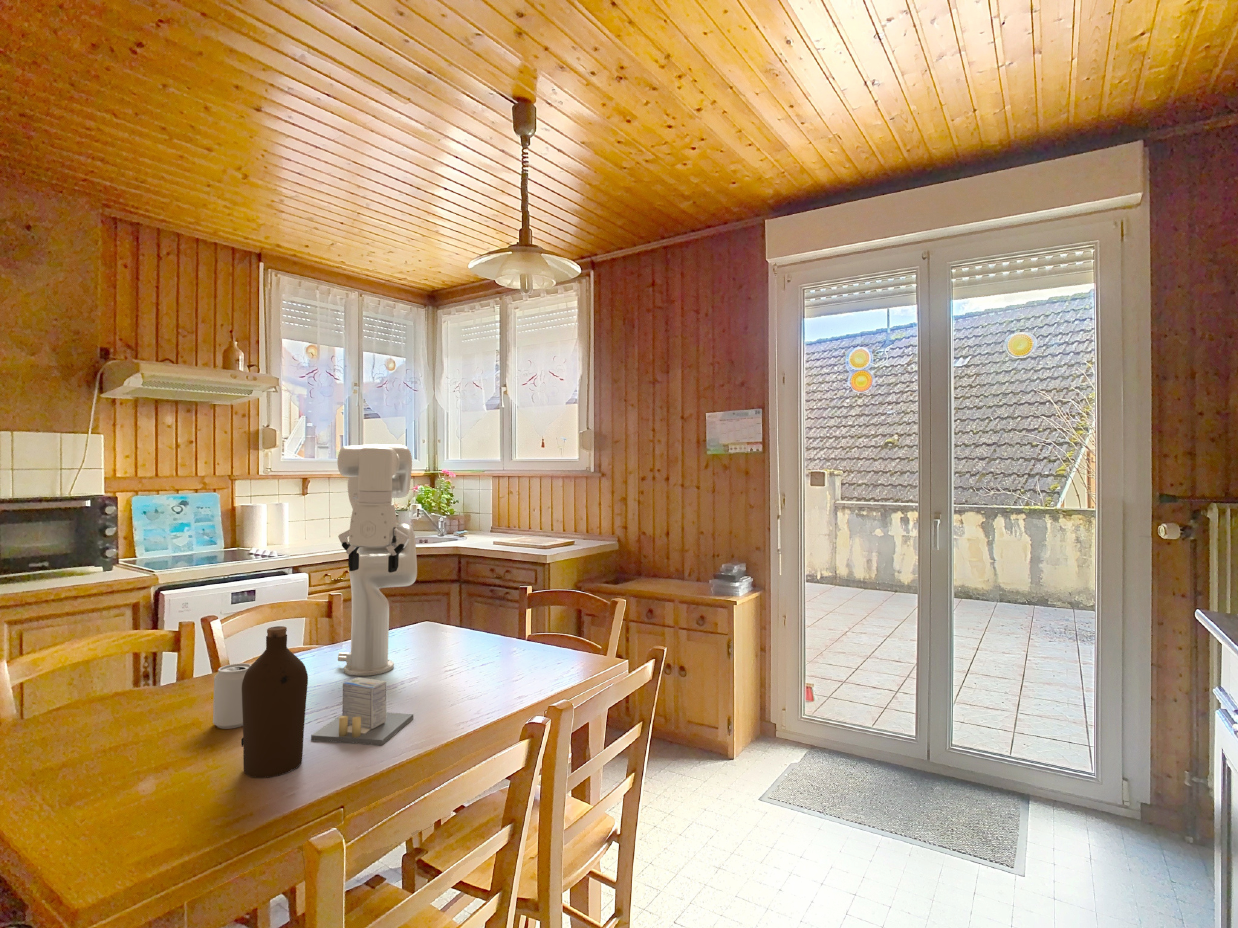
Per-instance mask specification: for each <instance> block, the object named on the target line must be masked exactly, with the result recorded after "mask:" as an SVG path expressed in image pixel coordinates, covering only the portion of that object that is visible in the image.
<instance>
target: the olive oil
mask: <svg viewBox="0 0 1238 928" xmlns="http://www.w3.org/2000/svg"><path fill="white" fill-rule="evenodd" d="M266 634H267V636H266V637H265V638H266V639H265V640H266V641H265V647H266V649H265V650H264V651H263V652H262V653H261V655H259V656H258V657H257V658H256V660H255V661H253V663H252V664H251V666H250V667H249V668H248V670H247V671H246V673H245V676H244V679H243V682H242V712H243V726H242V738H241V739H240V740H241V745H240V746H241V747H243V754H242V757H243V761H242V762H243V765H242V766H243V774H245V775H246V776H248V777H250V778H251V777H252V778H260V779H261V778H262V779H263V778H271V777H277V776H281V775H284V774H287V773H289V772H292V771H294V770H295V769H297V768H298V767H299V766H300V765H301V764H302V762H303V756H304V755H303V754H304V753H303V752H304V750H303V749H304V733H305V731H304V730H305V720H306V719H305V718H306V706H307V695H308V685H309V684H308V683H309V675H308V671H307V668H306V666H305V664H304V663H303V661H302V660H301V659H300V658H299V657H298V656H296V655H295V654H294V653H293V652H292V651H291V650H289V648H288V647H287V644H288V634H287V626H277V625H276V626H272V627H268V628H267V629H266Z"/></svg>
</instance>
